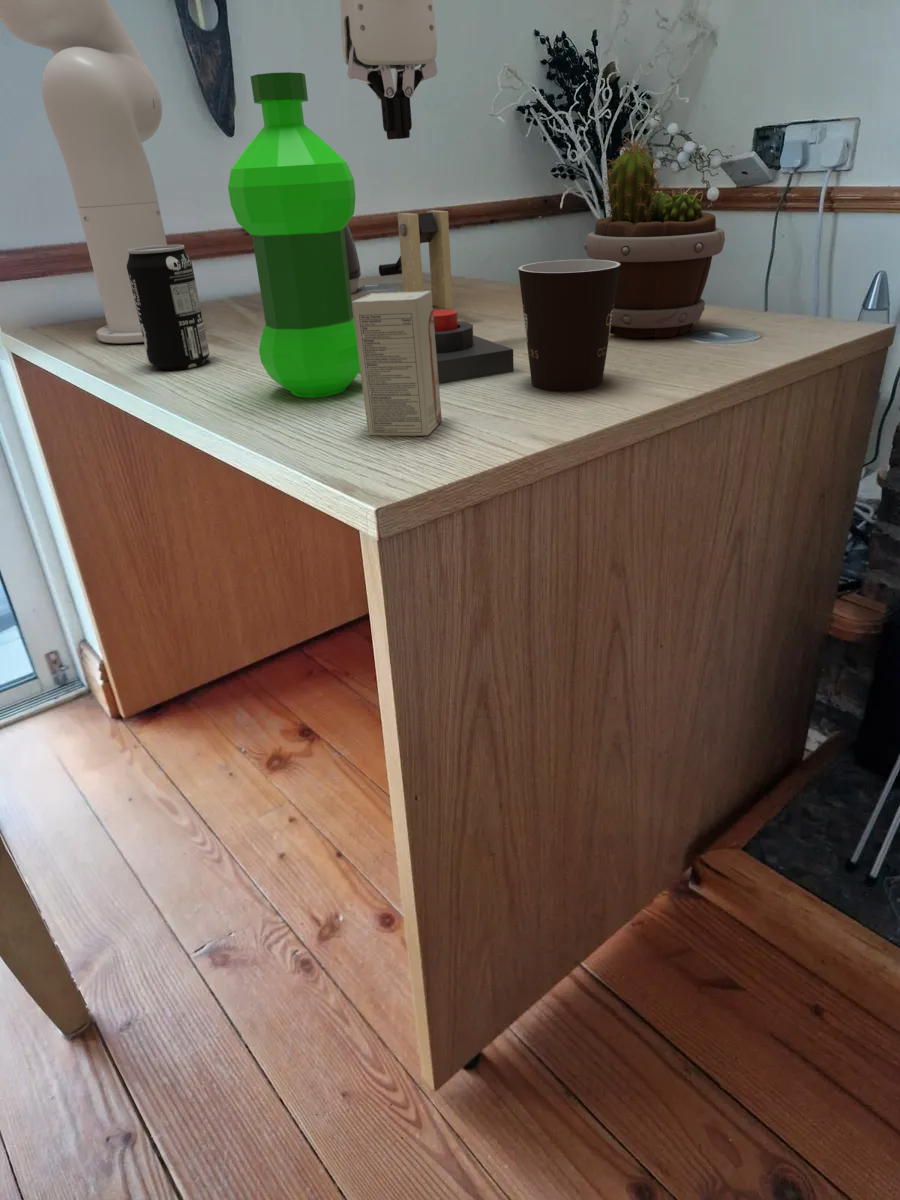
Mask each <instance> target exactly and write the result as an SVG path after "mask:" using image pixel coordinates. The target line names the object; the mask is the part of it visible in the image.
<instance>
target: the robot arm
mask: <svg viewBox="0 0 900 1200" xmlns="http://www.w3.org/2000/svg"><path fill="white" fill-rule="evenodd" d="M339 1H340V3H339V5H340V6H339V7H340V32H341V33H340V35H341V47H342V48H341V49H342V55H343V60H344V62H345V65H346V66H347V77H348V78H349V79H350V80H352V81H354V82H355V81H356V82H359V83H362V84H366V85H367V86H368V87H369V88H370V90H372V91H373V93H374V94H375V95H376V96H375V97H376V98H377V99H378V100H379V101H380V105H381V117H382V129H383V131H384V132H386V138H387V141H389V140H401V139H409V138H410V137H411V132H410V131H411V130H412V127H413V123H412V110H411V98H412V97H413V96H414V94H415V93H414V92H415V90H416V89H417V88H418V86H419V85H420V83H421V82H423V81H426V80H428V79H431V78H434V77H436V76H437V75H438V67H437V63H436V57H437V53H438V39H437V26H436V25H437V23H436V15H435V7H434V0H339ZM0 21H1V23H2V24H3V25H4V27H5V28H6V29H7V30H8V31H9V32H10V33H11V34H12V35H14V36H15V37H16V38H18V39H19V40H21V41H23V42H25V43H27V44H29V45H32V46H35V47H40V48H43V49H47V50H50V51H51V52H52V54H53V56H52V57H51V58H50V59H49V60H48V62H47V64H46V66H45V67H44V70H43V73H42V79H41V95H42V96H41V97H42V103H43V106H44V110H45V113H46V116H47V119H48V122H49V124H50V127H51V130H52V133H53V134H54V137H55V139H56V142H57V145H58V147H59V150H60V153H61V155H62V158H63V161H64V164H65V168H66V170H67V173H68V177H69V181H70V185H71V189H72V191H73V196H74V200H75V204H76V207H77V210H78V214H79V219H80V222H81V226H82V231H83V234H84V238H85V242H86V246H87V250H88V254H89V258H90V262H91V265H92V270H93V273H94V278H95V281H96V286H97V289H98V293H99V297H100V301H101V305H102V309H103V313H104V317H105V320H106V325H105V326H102V327H100V328H98V329H97V330H96V336H97V339H98V341H100V342H102V343H105V344H106V343H107V344H138V343H139V344H141V343H144V339H143V335H142V331H141V326H140V322H139V318H138V314H137V309H136V305H135V301H134V297H133V292H132V288H131V284H130V280H129V275H128V271H127V262H128V259H129V253H128V252H127V250H128V249H132V248H139V247H146V246H157V245H168V243H167V238H166V233H165V227H164V223H163V218H162V213H161V207H160V203H159V199H158V195H157V190H156V185H155V180H154V177H153V173H152V170H151V166H150V164H149V160H148V157H147V154H146V152H145V149H144V147H143V144H142V143H144V142H146V141H148V140H149V139H151V138H153V136H154V135H155V133H156V132H157V131H158V129H159V126H160V124H161V121H162V115H163V114H162V113H163V106H162V105H163V104H162V98H161V94H160V91H159V88H158V86H157V83H156V81H155V79H154V77H153V75H152V73H151V72H150V70H149V68H148V66H147V64H146V62H145V61H144V59H143V57H142V56H141V54H140V53H139V51H138V49H137V46H136V45H135V43H134V42H133V40H132V39H131V37H130V35H129V33H128V32H127V30H126V28H125V26H124V25H123V23H122V22H121V19H120V18H119V16H118V14H117V12H116V11H115V9H114V8H113V6H112V4H111V2H110V1H109V0H0ZM418 66H420V67H419V68H416V67H418ZM392 70H395V79H394V80H393V75H392Z"/></svg>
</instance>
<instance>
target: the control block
mask: <svg viewBox="0 0 900 1200" xmlns="http://www.w3.org/2000/svg"><path fill="white" fill-rule="evenodd" d="M457 321H458V328H457V329H454V330H448V331H435V342H436V354H437V367H438V380H439V385H441V384H448V383H453V382H459V381H464V380H465V381H466V380H471V379H477V378H483V377H489V376H494V375H500V374H501V375H502V374H507V373H512V372H514V370H515V369H514V366H515V365H514V348H511V347H508V346H505V345H502V344H500V343H497V342H494V341H491V340H488V339H485V338H482V337H480V336H477V335H474V324H472V323H470V322H466V321H461V320H460V321H459V320H457Z"/></svg>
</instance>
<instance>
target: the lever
mask: <svg viewBox="0 0 900 1200" xmlns="http://www.w3.org/2000/svg"><path fill="white" fill-rule="evenodd" d="M417 214H418V220H419V235H420V245H421V244H425V243H429V242H431V240H432V239H433V237H434V236H435V234H436V233H437V228H436V224H435V220H434V216H433V213H427V212H424V213H423V212H422V213H417ZM378 275H379V276H380V277H388V276H396V275H402V264H401V255H399V257H398V259H397V261H396V262H394V263H385V264H384V263H383V264H379V265H378Z"/></svg>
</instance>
